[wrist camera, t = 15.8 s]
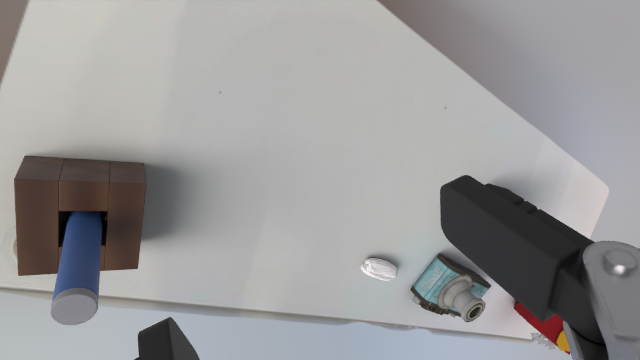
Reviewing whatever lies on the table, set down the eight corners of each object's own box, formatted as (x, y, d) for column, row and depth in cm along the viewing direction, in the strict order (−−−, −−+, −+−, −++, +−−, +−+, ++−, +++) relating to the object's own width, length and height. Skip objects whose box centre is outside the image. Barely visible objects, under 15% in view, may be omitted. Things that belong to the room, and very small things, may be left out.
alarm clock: (541, 295, 100) (620, 358, 84) (518, 320, 101) (592, 386, 86) (519, 280, 91) (604, 347, 76) (495, 307, 93) (573, 379, 77)
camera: (514, 305, 75) (481, 343, 76) (477, 273, 82) (448, 309, 84) (473, 286, 65) (436, 330, 66) (436, 252, 72) (404, 292, 74)
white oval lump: (386, 275, 69) (394, 286, 67) (354, 266, 65) (363, 277, 62) (395, 261, 69) (405, 271, 66) (365, 251, 64) (374, 262, 62)
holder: (27, 245, 41) (18, 276, 37) (24, 155, 37) (13, 178, 33) (136, 242, 46) (137, 269, 42) (143, 163, 42) (146, 183, 38)
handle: (70, 215, 42) (50, 328, 29) (71, 191, 40) (50, 296, 28) (102, 216, 43) (96, 322, 30) (103, 192, 42) (98, 292, 29)
